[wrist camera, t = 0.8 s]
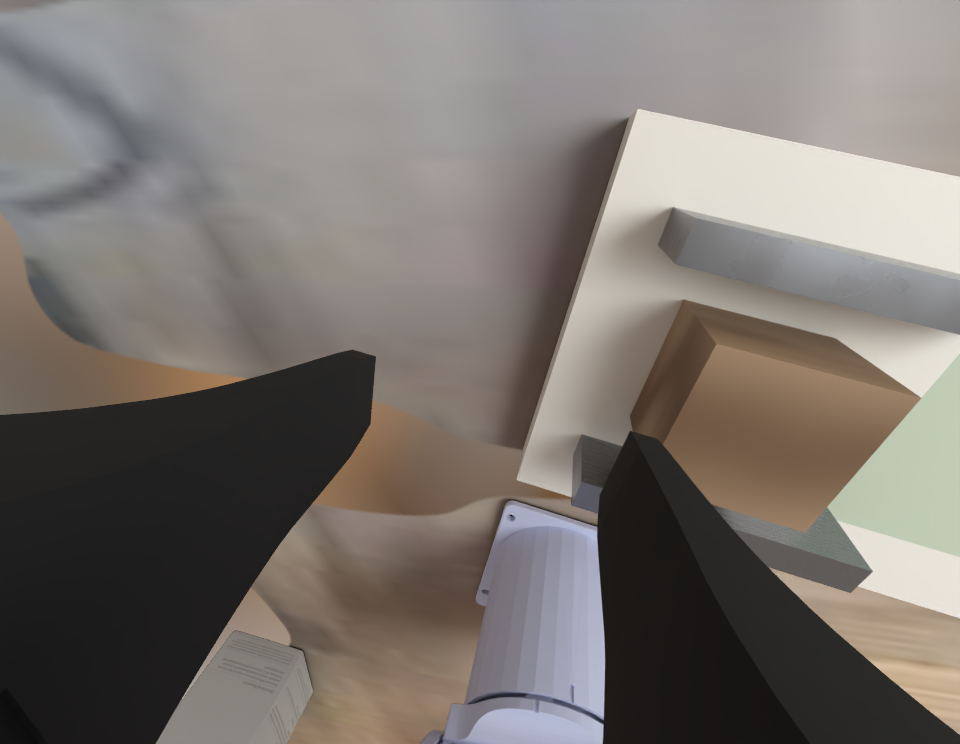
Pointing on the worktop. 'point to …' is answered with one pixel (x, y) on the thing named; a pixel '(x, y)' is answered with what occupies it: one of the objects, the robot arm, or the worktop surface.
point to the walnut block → (766, 412)
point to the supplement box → (243, 696)
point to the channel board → (879, 339)
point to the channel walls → (809, 274)
